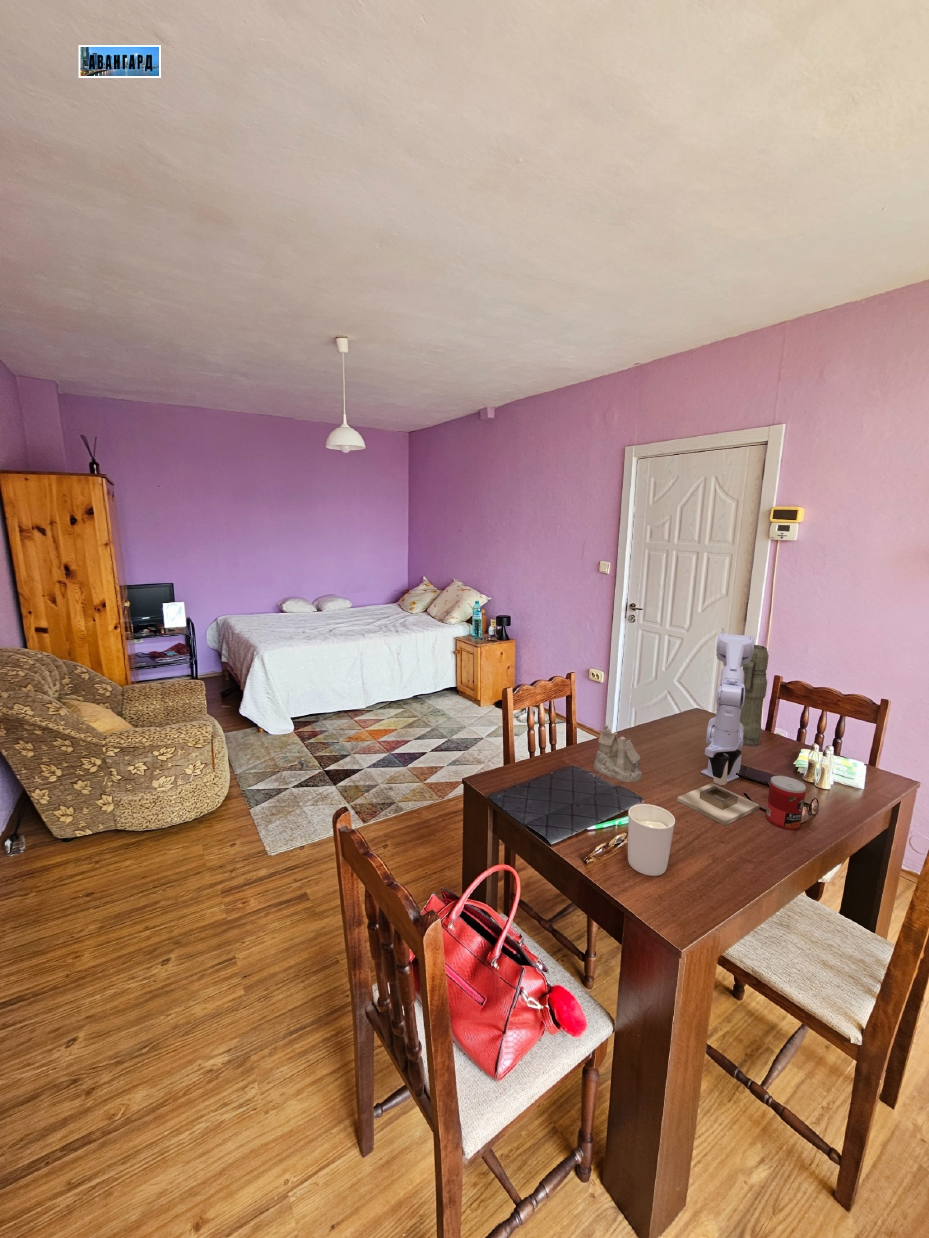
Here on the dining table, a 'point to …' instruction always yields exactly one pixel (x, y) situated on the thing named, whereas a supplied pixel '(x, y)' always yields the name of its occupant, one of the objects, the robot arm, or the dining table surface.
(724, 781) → the ivory candle
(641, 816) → the candle holder
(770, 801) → the canned food
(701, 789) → the candle stand
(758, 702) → the green stone statue
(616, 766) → the ceramic cottage
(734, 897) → the dining table surface
